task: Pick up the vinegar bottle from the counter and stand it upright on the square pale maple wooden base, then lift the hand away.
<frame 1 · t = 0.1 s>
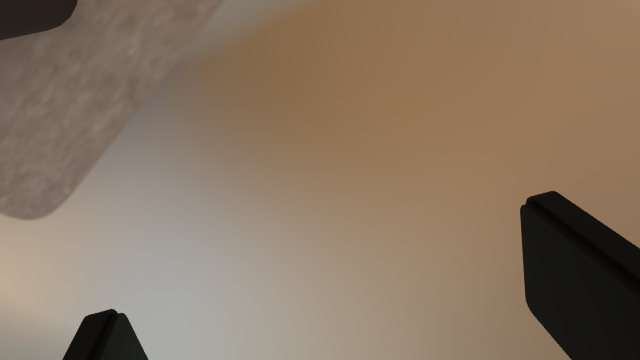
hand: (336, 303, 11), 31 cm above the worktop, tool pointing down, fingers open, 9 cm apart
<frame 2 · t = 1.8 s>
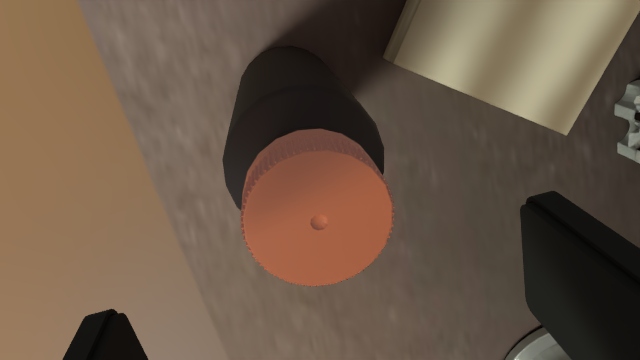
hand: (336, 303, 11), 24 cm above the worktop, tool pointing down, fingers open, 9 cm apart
vinegar: (287, 94, 33), on the worktop
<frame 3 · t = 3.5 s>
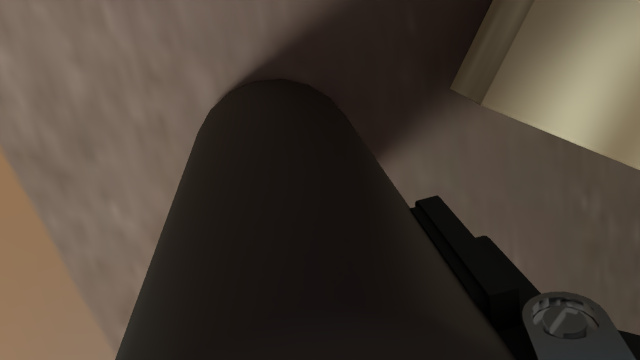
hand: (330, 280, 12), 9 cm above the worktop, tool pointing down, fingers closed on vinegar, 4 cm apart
vinegar: (276, 154, 20), on the worktop, touching gripper
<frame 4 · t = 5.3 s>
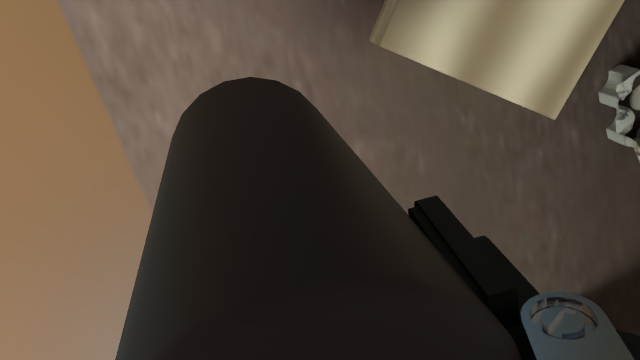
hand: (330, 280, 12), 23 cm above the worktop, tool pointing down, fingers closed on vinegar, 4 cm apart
vinegar: (252, 151, 21), point 13 cm above the worktop, touching gripper
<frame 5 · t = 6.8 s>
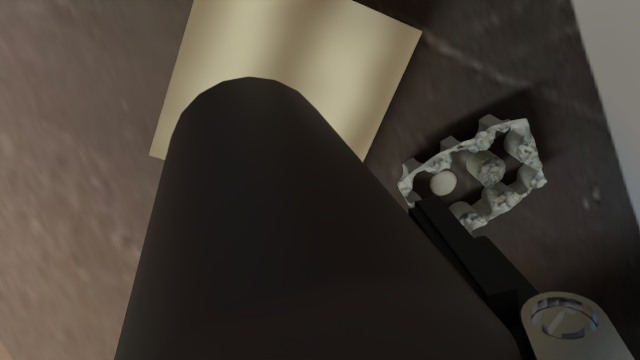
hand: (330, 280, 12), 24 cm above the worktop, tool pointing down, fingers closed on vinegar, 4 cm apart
egg carton: (458, 168, 39), on the worktop
maple base: (281, 85, 34), on the worktop
vinegar: (251, 151, 21), point 14 cm above the worktop, touching gripper
when the fingers open (14 cm above the worktop, at t = 9.4 s): vinegar stays where it is, resting on maple base.
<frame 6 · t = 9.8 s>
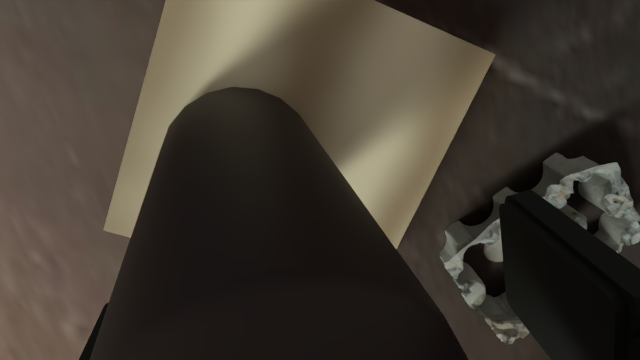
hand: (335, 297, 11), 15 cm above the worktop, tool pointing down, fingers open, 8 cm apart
egg carton: (519, 225, 29), on the worktop
maple base: (291, 126, 24), on the worktop
vinegar: (239, 158, 21), point 3 cm above the worktop, touching maple base
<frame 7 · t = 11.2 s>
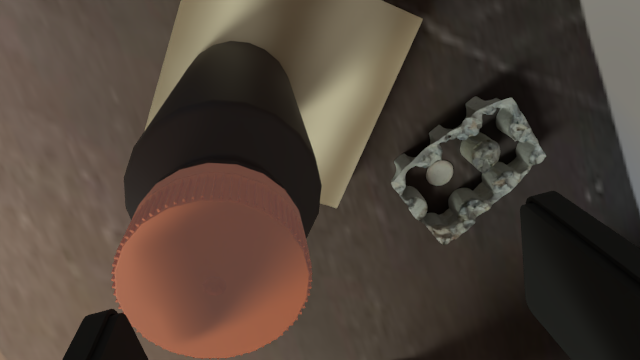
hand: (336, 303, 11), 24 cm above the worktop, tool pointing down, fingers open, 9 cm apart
egg carton: (453, 155, 37), on the worktop
maple base: (277, 74, 33), on the worktop
vinegar: (237, 94, 30), point 3 cm above the worktop, touching maple base
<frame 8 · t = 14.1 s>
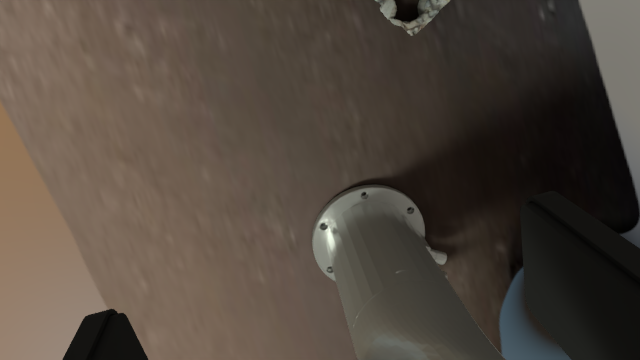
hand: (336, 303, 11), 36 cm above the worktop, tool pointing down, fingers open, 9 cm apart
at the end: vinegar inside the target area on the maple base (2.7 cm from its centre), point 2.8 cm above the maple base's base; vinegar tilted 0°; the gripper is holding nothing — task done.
